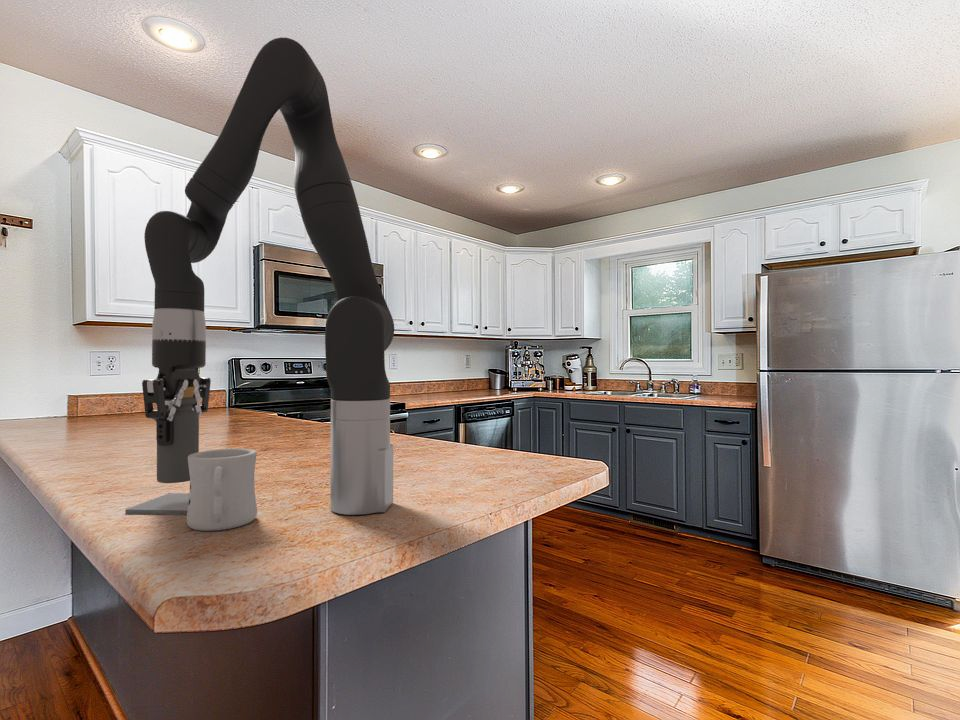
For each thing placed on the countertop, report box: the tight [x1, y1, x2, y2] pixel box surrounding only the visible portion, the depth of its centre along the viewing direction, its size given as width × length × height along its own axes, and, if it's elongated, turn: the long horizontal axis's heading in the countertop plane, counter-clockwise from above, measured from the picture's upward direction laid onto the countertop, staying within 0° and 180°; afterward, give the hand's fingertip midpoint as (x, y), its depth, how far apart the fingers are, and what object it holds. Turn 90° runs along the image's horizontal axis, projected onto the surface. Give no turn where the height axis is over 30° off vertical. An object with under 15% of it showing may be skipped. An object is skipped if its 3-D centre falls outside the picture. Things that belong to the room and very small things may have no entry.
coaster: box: [125, 492, 190, 515], centre depth 82 cm, size 10×10×1 cm
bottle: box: [156, 387, 200, 484], centre depth 83 cm, size 6×6×15 cm
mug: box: [186, 448, 258, 532], centre depth 72 cm, size 12×9×10 cm
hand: (178, 441), depth 83 cm, fingers closed on bottle, 5 cm apart
